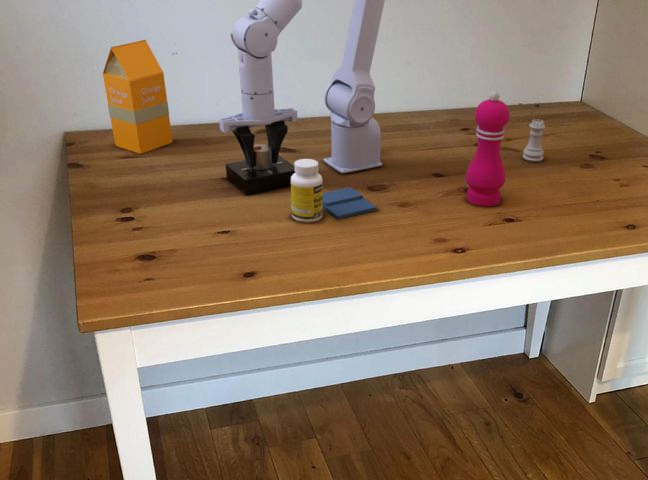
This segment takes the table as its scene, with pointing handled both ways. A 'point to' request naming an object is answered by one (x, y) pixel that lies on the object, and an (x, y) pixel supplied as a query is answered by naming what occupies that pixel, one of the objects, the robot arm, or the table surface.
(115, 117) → the orange juice
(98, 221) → the table surface
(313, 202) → the supplement bottle
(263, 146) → the knob
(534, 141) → the rook chess piece
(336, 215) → the dish cloth
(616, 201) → the table surface
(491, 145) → the pepper mill
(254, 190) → the panel
